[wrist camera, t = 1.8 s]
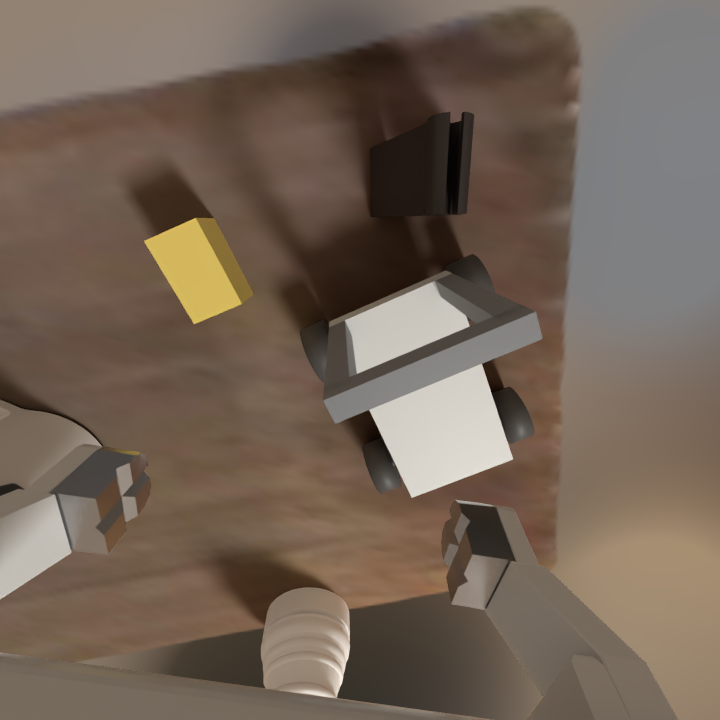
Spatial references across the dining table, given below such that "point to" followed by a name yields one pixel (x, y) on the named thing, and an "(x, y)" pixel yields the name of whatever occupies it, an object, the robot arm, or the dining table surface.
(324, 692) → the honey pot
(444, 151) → the phone stand
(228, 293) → the tall gold block
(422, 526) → the dining table surface
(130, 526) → the dining table surface
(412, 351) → the flatbed trolley
